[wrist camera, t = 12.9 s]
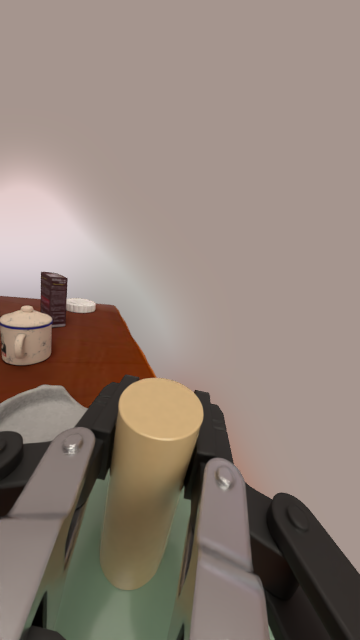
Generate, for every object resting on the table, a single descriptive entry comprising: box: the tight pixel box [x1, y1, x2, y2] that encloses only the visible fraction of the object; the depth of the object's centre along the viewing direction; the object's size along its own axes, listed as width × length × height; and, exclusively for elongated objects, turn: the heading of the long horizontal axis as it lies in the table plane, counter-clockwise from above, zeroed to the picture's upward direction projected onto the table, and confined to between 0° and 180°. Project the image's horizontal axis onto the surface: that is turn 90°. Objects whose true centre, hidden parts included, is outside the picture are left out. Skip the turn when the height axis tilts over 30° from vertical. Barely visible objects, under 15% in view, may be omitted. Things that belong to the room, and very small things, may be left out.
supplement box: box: [41, 272, 67, 327], centre depth 61 cm, size 9×5×16 cm, turn 50°
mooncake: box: [66, 298, 96, 313], centre depth 81 cm, size 12×12×4 cm
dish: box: [0, 385, 88, 444], centre depth 24 cm, size 14×14×5 cm
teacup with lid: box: [0, 306, 53, 365], centre depth 40 cm, size 12×9×12 cm
